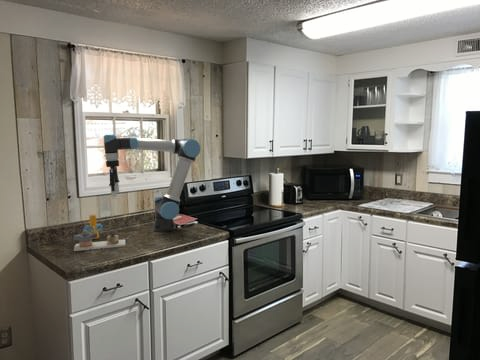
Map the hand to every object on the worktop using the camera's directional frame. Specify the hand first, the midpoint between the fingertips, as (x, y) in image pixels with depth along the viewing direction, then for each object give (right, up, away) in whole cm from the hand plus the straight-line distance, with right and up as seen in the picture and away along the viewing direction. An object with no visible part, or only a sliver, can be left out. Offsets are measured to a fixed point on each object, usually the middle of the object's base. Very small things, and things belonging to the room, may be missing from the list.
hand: (115, 194), depth 233 cm
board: (-6, -30, -9) cm, 32 cm away
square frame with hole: (-14, -25, -12) cm, 31 cm away
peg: (-13, -29, -11) cm, 34 cm away
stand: (+1, -28, -7) cm, 29 cm away
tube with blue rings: (-17, -28, +9) cm, 34 cm away
